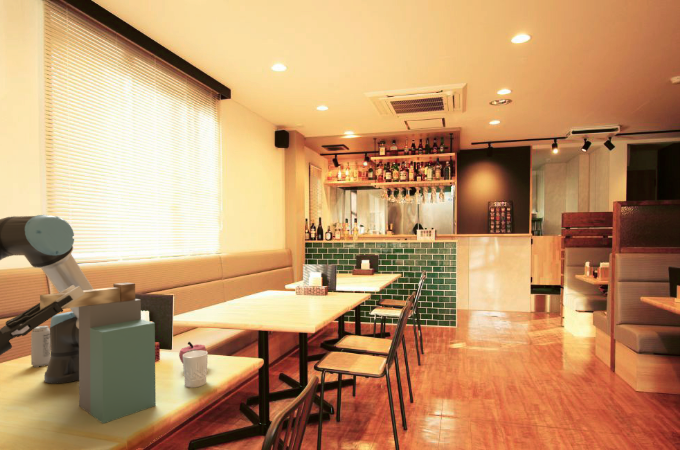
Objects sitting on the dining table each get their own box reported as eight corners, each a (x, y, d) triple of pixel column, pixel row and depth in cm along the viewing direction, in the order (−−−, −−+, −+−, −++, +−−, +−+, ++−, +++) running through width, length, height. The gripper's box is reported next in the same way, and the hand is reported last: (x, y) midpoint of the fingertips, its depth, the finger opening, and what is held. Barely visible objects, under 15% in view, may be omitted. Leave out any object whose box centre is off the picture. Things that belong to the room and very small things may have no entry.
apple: (177, 374, 143) (177, 346, 144) (181, 366, 152) (180, 340, 152) (205, 371, 146) (205, 343, 146) (207, 364, 154) (207, 338, 154)
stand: (103, 423, 106) (102, 309, 107) (79, 406, 118) (78, 303, 118) (155, 405, 117) (154, 302, 118) (129, 391, 128) (128, 297, 129)
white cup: (200, 389, 129) (199, 357, 129) (178, 387, 130) (177, 356, 131) (212, 380, 136) (212, 350, 137) (191, 379, 138) (191, 349, 138)
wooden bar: (45, 311, 106) (45, 292, 106) (39, 309, 110) (38, 291, 110) (135, 299, 123) (135, 283, 124) (127, 298, 127) (126, 282, 127)
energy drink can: (37, 363, 160) (37, 325, 161) (53, 362, 161) (53, 325, 161) (27, 368, 154) (27, 329, 155) (44, 367, 155) (44, 328, 155)
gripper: (-12, 352, 106) (76, 297, 121) (3, 364, 95) (97, 302, 110) (-31, 330, 103) (61, 277, 119) (-18, 339, 92) (81, 280, 108)
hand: (78, 289), depth 115 cm, fingers closed on wooden bar, 4 cm apart
